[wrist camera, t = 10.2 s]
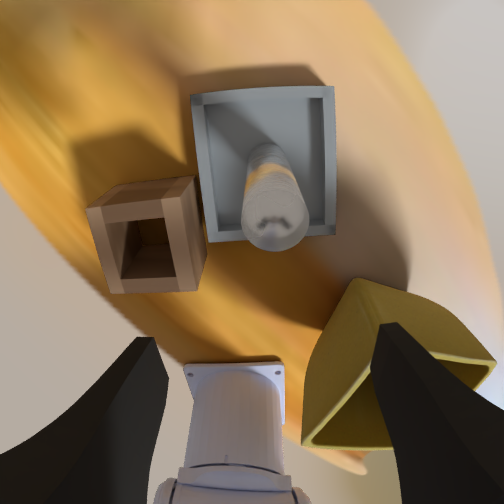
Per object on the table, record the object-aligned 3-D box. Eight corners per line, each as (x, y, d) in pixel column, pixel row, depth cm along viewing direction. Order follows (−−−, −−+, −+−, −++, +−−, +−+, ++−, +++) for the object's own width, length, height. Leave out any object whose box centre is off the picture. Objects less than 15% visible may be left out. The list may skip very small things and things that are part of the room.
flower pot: (287, 343, 23) (297, 449, 15) (338, 242, 19) (385, 345, 11) (382, 360, 24) (413, 449, 16) (438, 277, 20) (501, 362, 12)
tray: (329, 224, 19) (335, 234, 17) (211, 231, 19) (208, 242, 18) (327, 86, 15) (334, 86, 14) (195, 95, 15) (189, 94, 14)
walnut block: (207, 254, 20) (196, 291, 16) (133, 259, 20) (110, 293, 16) (195, 175, 17) (179, 196, 14) (115, 185, 18) (85, 208, 14)
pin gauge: (287, 178, 17) (308, 250, 10) (249, 180, 17) (244, 253, 10) (285, 141, 16) (309, 187, 9) (246, 144, 16) (238, 191, 9)
